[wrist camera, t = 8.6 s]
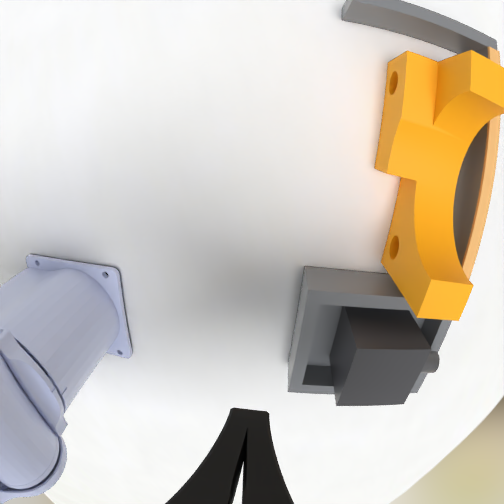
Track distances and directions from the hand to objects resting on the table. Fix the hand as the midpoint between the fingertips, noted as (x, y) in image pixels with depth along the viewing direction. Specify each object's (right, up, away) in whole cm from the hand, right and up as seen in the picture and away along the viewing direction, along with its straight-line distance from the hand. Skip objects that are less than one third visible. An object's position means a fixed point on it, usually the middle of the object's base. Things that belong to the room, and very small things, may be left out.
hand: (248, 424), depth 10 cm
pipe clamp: (+9, +12, +6) cm, 16 cm away
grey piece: (+8, +9, +6) cm, 14 cm away
